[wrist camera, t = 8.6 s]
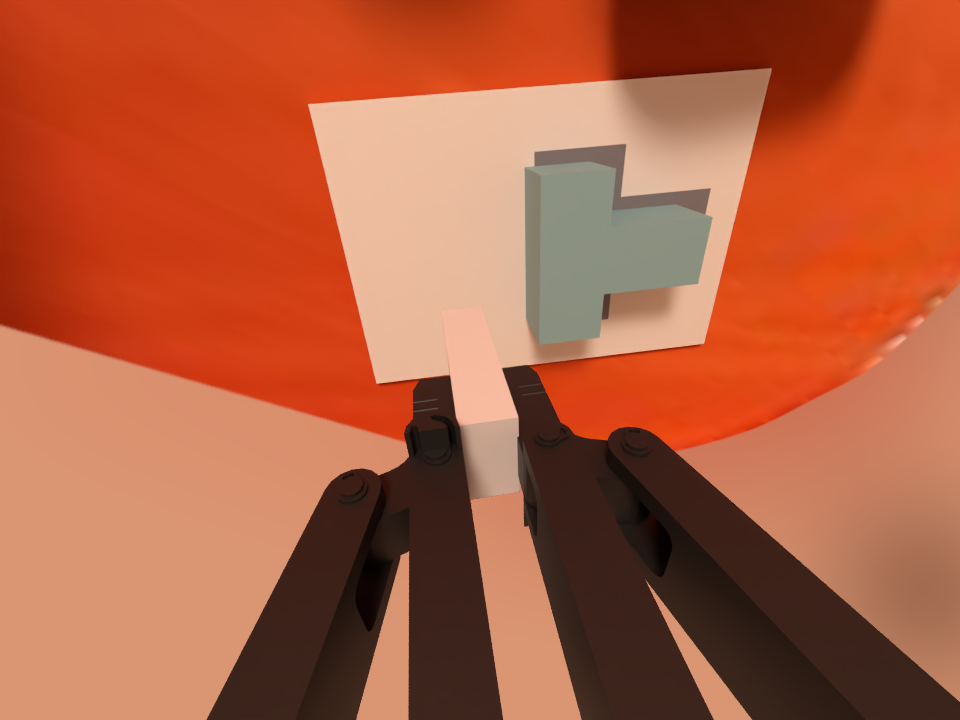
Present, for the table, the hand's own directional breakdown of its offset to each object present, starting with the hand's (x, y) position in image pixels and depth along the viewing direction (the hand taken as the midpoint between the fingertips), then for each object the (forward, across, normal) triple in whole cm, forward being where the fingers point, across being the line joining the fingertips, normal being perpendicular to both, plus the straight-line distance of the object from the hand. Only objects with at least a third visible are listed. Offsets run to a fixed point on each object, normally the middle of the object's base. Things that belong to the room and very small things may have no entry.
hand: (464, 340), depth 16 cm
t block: (+12, +10, -1) cm, 16 cm away
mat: (+13, +7, -1) cm, 14 cm away
